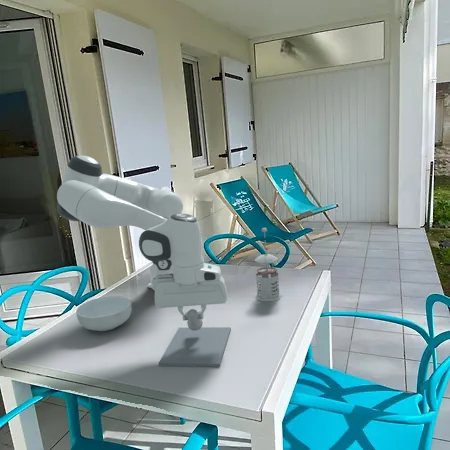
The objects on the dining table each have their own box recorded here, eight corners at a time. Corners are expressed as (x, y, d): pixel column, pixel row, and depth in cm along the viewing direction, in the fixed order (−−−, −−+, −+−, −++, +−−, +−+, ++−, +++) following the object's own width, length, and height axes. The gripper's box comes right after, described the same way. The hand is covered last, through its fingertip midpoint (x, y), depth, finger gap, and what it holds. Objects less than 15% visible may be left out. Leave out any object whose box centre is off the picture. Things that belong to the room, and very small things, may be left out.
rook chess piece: (195, 313, 121) (191, 302, 114) (206, 322, 119) (203, 312, 112) (184, 324, 119) (180, 314, 112) (195, 334, 117) (192, 324, 110)
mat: (179, 329, 124) (179, 327, 124) (230, 329, 121) (230, 327, 121) (158, 365, 105) (158, 362, 105) (219, 366, 102) (219, 363, 102)
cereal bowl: (82, 343, 120) (78, 321, 119) (76, 323, 135) (73, 303, 134) (138, 329, 127) (136, 307, 126) (127, 311, 142) (125, 291, 141)
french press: (252, 300, 142) (247, 231, 137) (258, 288, 153) (254, 223, 148) (280, 302, 139) (276, 230, 134) (285, 289, 150) (281, 223, 145)
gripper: (149, 279, 109) (154, 326, 112) (225, 273, 109) (229, 321, 112) (153, 271, 115) (158, 316, 118) (225, 266, 115) (228, 312, 118)
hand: (193, 319), depth 115 cm, fingers closed on rook chess piece, 3 cm apart
